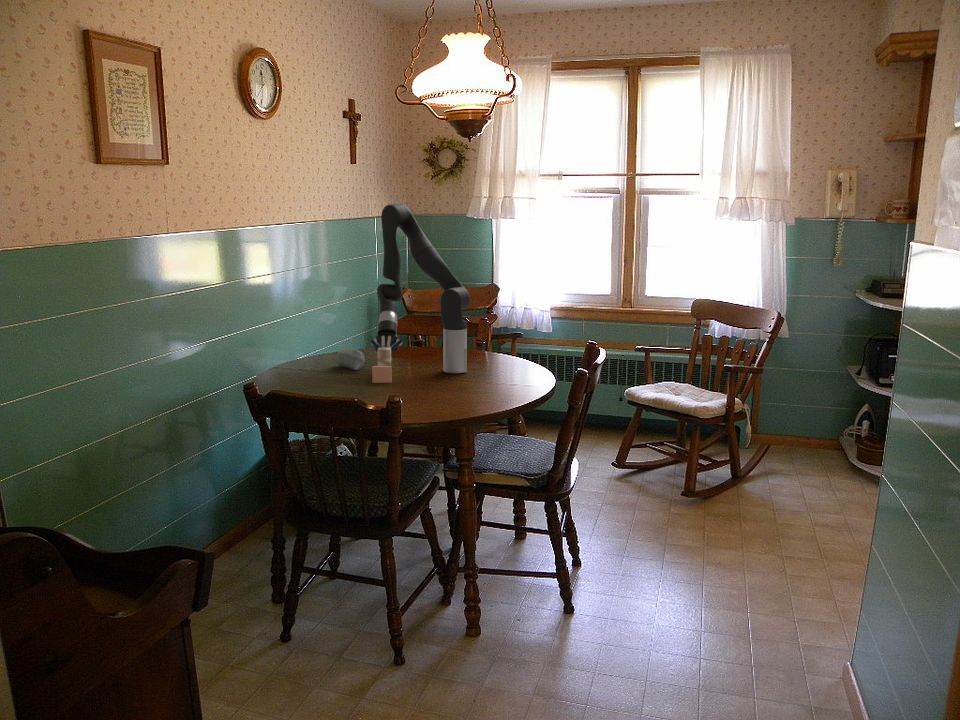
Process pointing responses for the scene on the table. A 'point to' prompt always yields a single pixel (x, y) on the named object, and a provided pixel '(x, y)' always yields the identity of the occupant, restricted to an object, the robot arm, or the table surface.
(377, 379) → the block
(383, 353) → the keeper
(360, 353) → the grey rounded lump
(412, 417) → the table surface
